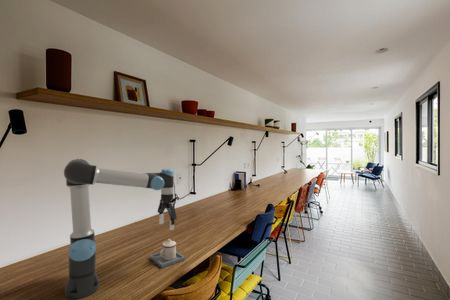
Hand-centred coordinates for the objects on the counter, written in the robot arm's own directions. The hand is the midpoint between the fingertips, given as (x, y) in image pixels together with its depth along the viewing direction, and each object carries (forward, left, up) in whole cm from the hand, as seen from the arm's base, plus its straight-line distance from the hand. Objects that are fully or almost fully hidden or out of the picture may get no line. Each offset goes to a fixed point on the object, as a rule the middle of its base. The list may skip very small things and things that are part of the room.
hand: (166, 226), depth 158 cm
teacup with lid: (+1, -1, -21) cm, 21 cm away
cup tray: (+1, 0, -21) cm, 21 cm away
